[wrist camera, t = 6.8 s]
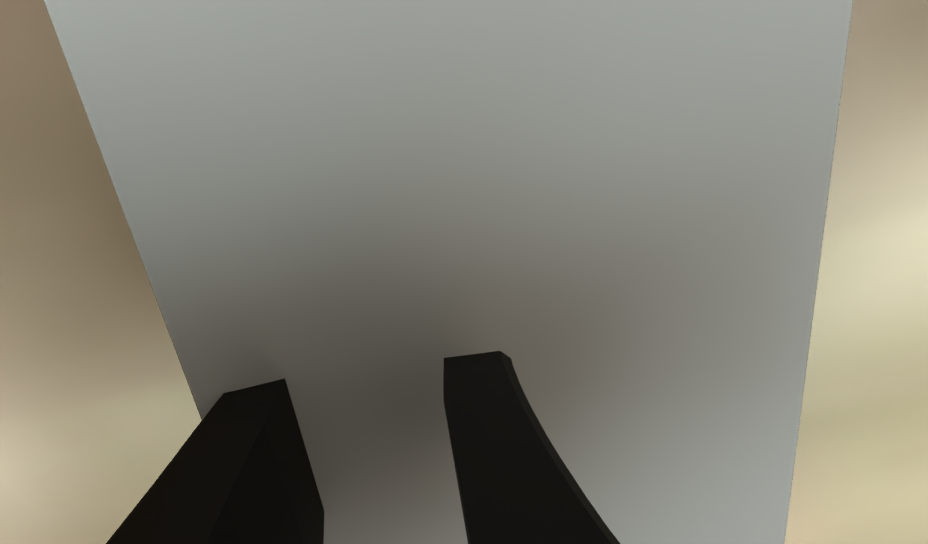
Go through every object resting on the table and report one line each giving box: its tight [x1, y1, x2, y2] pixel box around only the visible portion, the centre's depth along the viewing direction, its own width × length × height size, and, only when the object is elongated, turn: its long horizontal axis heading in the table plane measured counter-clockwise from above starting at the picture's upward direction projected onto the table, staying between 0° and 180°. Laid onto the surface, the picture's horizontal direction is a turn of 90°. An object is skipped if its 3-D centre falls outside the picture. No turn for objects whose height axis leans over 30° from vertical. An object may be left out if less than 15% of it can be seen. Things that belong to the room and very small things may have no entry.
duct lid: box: [44, 0, 853, 544], centre depth 10 cm, size 18×8×1 cm, turn 7°
